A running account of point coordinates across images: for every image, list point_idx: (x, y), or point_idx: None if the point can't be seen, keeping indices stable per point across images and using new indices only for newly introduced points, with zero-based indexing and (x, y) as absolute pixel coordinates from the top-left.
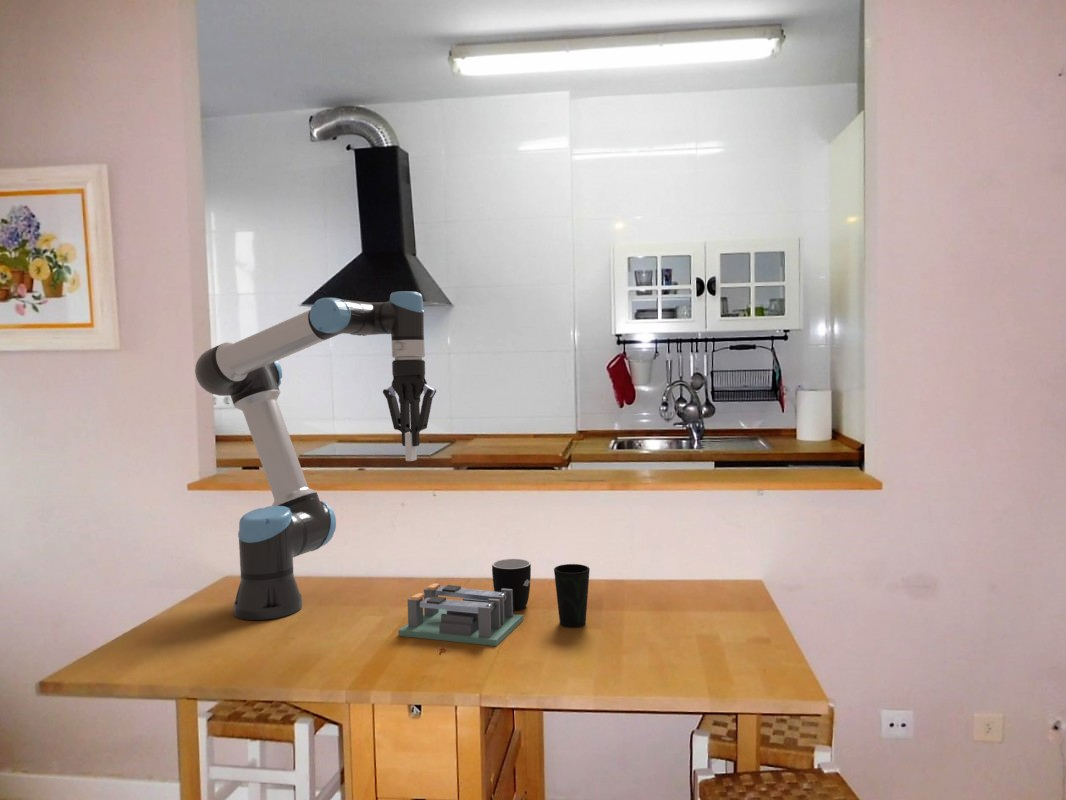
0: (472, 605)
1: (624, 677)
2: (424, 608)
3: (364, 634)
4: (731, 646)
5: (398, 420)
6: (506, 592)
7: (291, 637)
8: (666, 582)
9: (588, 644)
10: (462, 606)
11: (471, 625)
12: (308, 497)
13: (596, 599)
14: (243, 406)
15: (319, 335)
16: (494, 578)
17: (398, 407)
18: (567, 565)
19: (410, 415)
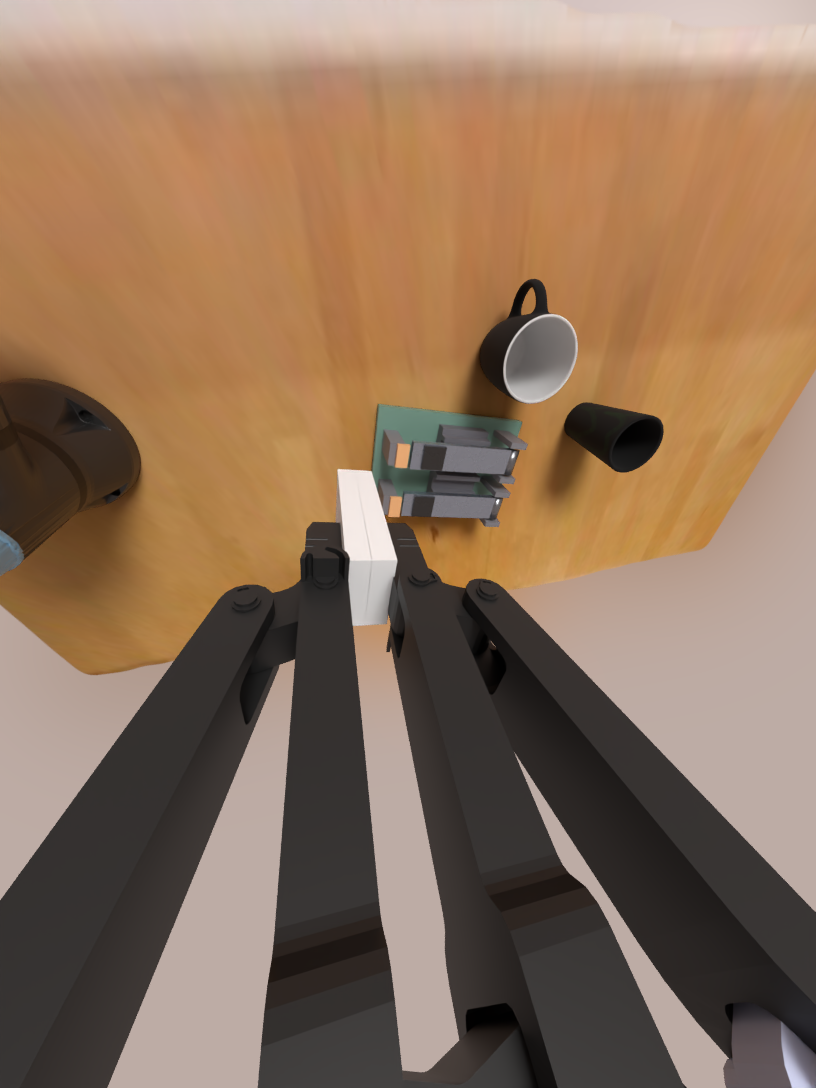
0: (474, 512)
1: (594, 547)
2: (383, 453)
3: (321, 510)
4: (714, 462)
5: (215, 667)
6: (517, 454)
7: (230, 539)
8: None
9: (583, 485)
10: (462, 517)
11: None
12: None
13: (644, 282)
14: None
15: None
16: (497, 385)
17: (140, 863)
18: (636, 421)
19: (414, 751)
